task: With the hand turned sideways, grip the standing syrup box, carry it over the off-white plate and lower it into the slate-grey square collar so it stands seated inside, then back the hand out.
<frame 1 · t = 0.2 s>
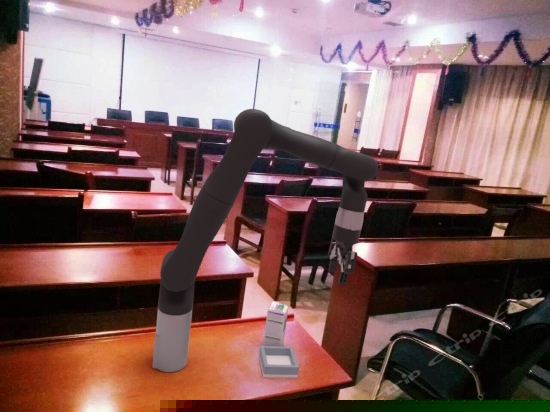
hand: (336, 278, 116), 29 cm above the table, tool pointing down, fingers open, 8 cm apart
syrup box: (272, 348, 128), on the table
collar plate: (277, 366, 118), on the table
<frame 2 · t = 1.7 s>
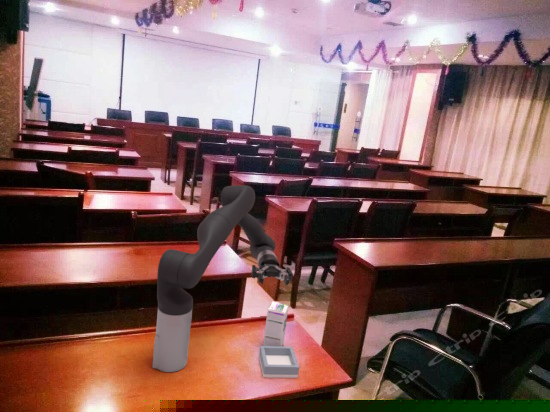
hand: (274, 282, 134), 18 cm above the table, tool horizontal, fingers open, 8 cm apart
nothing on the table moved.
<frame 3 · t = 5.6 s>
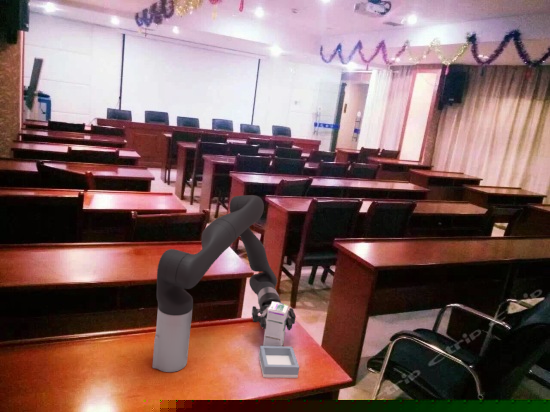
hand: (277, 327, 124), 9 cm above the table, tool horizontal, fingers closed on syrup box, 7 cm apart
syrup box: (272, 348, 128), on the table, touching gripper
when the fingers open (11 cm above the table, at t = 10.8 s): syrup box drops 1 cm, resting on collar plate.
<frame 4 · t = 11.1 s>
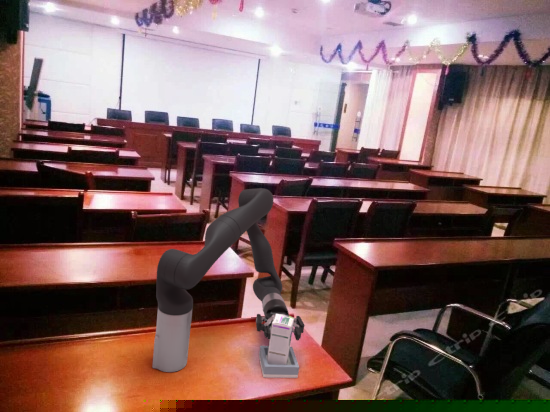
hand: (283, 337, 114), 11 cm above the table, tool horizontal, fingers open, 8 cm apart
syrup box: (276, 364, 118), point 1 cm above the table, touching collar plate
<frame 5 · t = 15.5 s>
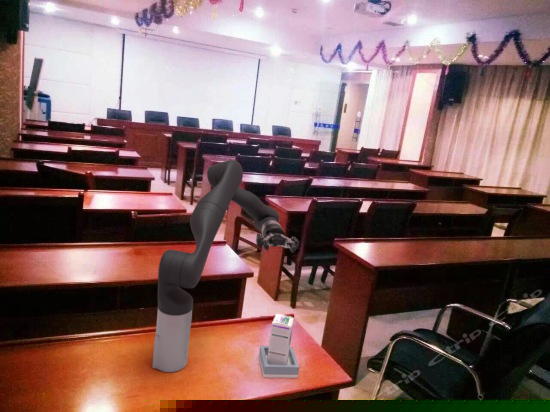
hand: (280, 248, 130), 30 cm above the table, tool horizontal, fingers open, 8 cm apart
nothing on the table moved.
at the end: syrup box 0.4 cm off-centre on the collar plate, point 0.8 cm above the collar plate's base; syrup box tilted 0°; the gripper is holding nothing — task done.
